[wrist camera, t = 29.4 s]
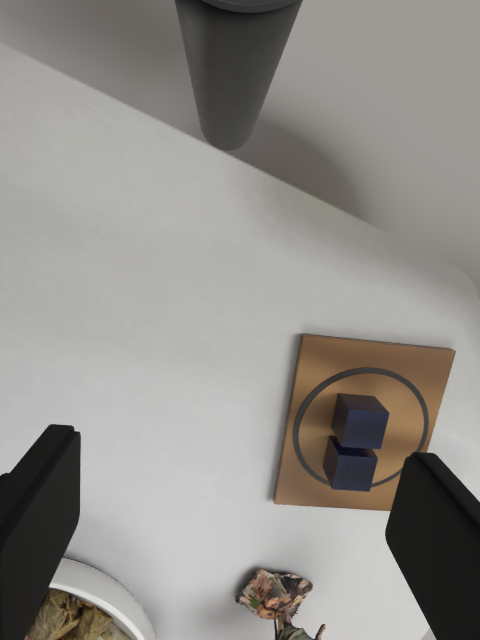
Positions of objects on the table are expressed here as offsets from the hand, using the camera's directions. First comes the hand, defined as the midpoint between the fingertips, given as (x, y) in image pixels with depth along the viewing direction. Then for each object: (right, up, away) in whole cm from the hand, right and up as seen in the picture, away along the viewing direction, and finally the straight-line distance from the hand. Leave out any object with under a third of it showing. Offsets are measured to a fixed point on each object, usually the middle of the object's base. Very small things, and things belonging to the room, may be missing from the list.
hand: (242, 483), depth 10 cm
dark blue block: (+11, -10, +30) cm, 33 cm away
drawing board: (+13, -7, +30) cm, 33 cm away
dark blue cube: (+12, -5, +28) cm, 31 cm away
